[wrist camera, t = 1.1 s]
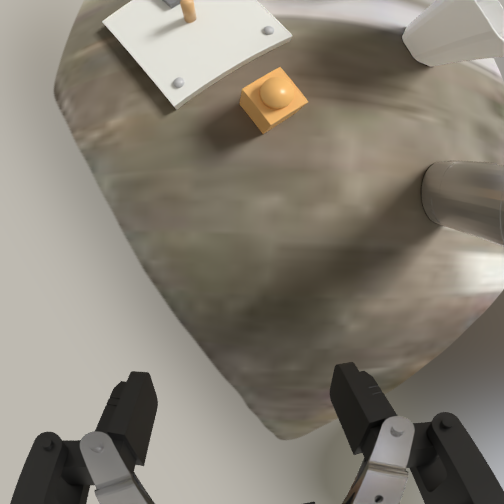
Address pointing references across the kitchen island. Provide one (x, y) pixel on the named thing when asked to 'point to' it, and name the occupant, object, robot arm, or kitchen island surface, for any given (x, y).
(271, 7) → the kitchen island surface
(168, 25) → the plate
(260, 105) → the cube with dome knob
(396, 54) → the kitchen island surface
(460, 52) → the cup
